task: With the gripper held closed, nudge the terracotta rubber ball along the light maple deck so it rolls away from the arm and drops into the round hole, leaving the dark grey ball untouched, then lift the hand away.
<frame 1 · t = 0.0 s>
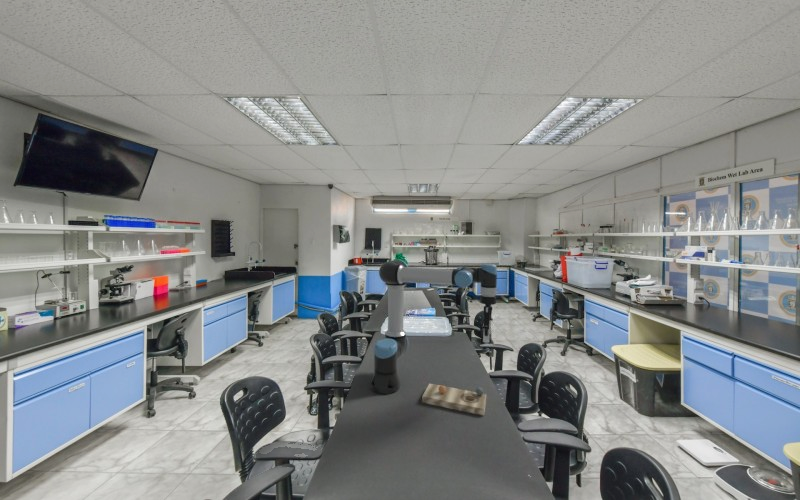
hand: (487, 337, 148), 28 cm above the lab bench, fingers open, 13 cm apart
ball: (442, 389, 143), point 5 cm above the lab bench, touching deck
deck: (454, 401, 141), on the lab bench
grey ball: (479, 391, 141), point 5 cm above the lab bench, touching deck
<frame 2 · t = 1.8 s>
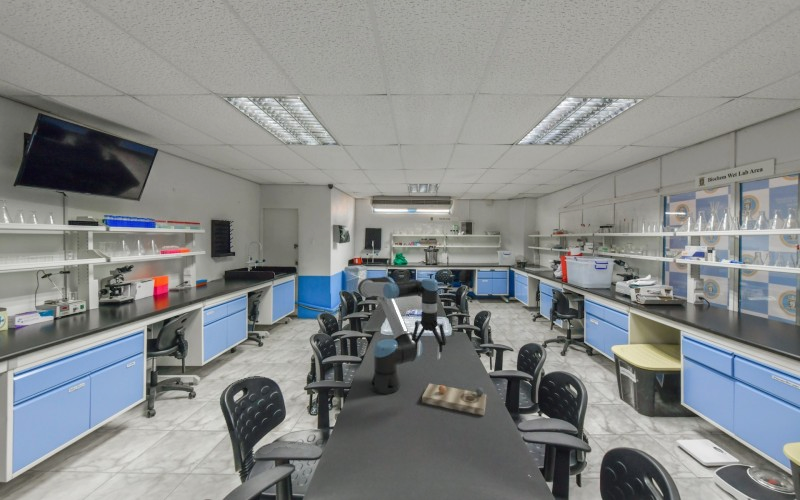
hand: (428, 356, 145), 20 cm above the lab bench, fingers open, 9 cm apart
nothing on the lab bench moved.
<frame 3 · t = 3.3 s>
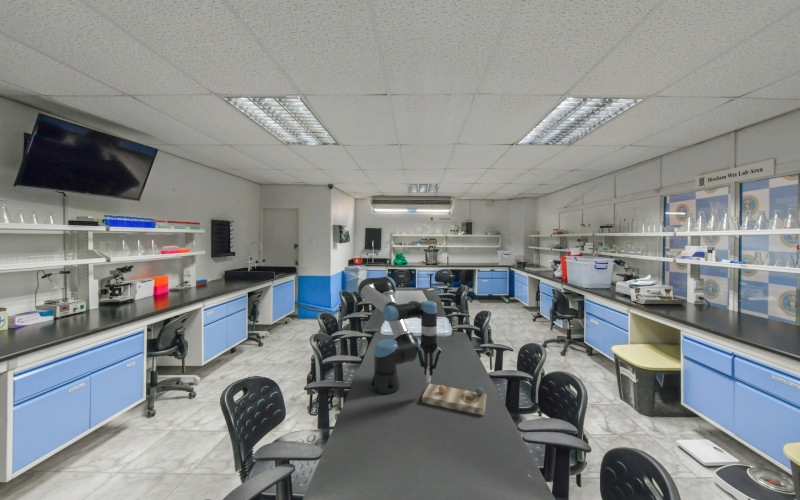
hand: (428, 381, 145), 7 cm above the lab bench, fingers closed
nothing on the lab bench moved.
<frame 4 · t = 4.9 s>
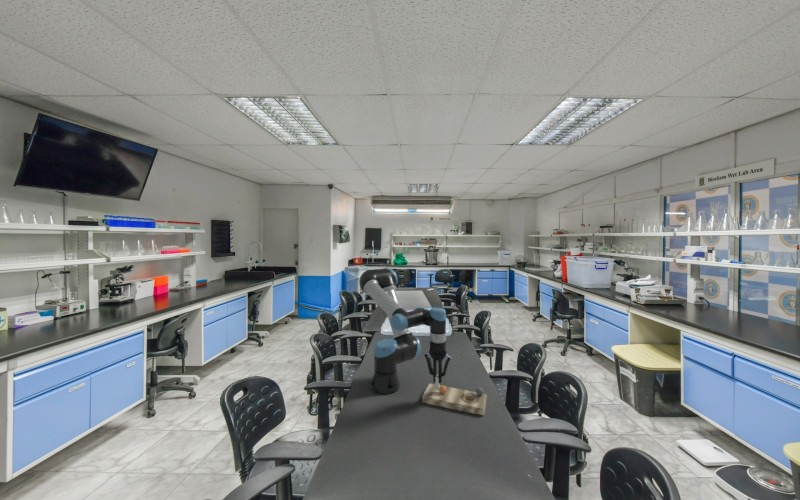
hand: (437, 389, 143), 5 cm above the lab bench, fingers closed
ball: (442, 389, 143), point 5 cm above the lab bench, tilted 6°, touching deck
everything else where it was.
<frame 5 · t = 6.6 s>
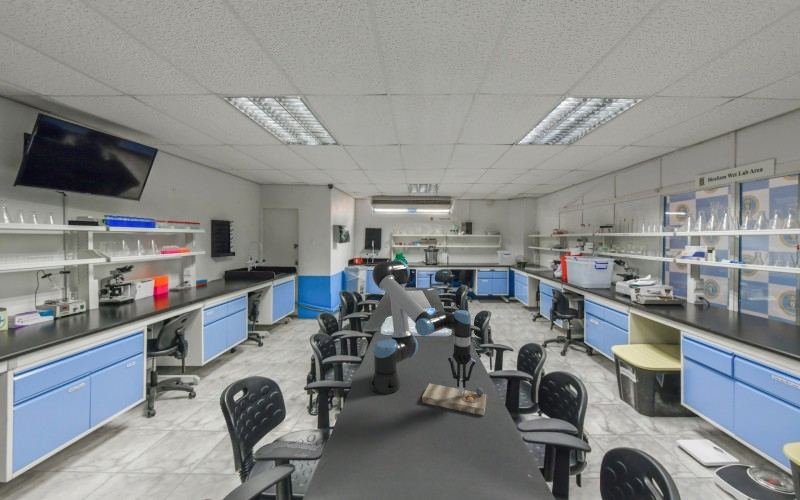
hand: (461, 393, 140), 4 cm above the lab bench, fingers closed
ball: (470, 401, 138), point 2 cm above the lab bench, tilted 125°
everything else where it was.
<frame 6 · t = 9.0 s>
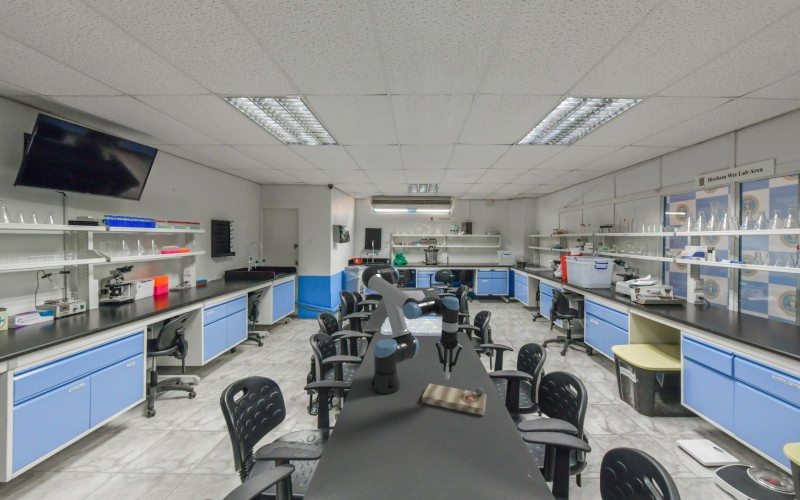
hand: (447, 378, 142), 10 cm above the lab bench, fingers closed
nothing on the lab bench moved.
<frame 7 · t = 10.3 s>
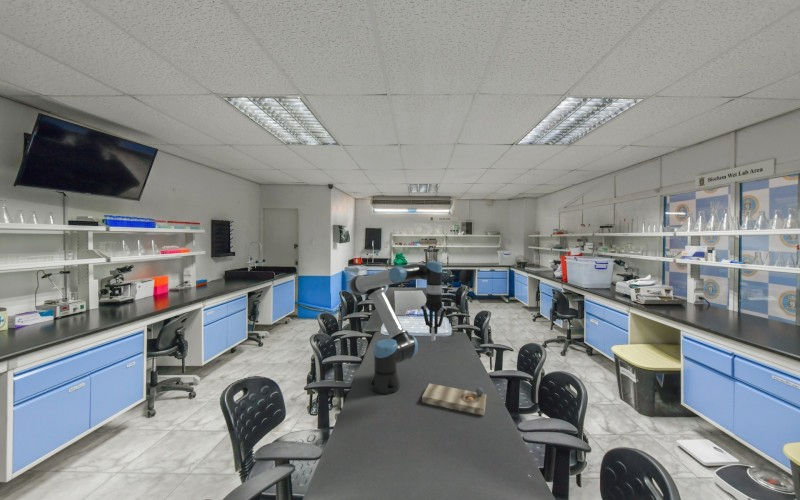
hand: (433, 339, 148), 26 cm above the lab bench, fingers closed
nothing on the lab bench moved.
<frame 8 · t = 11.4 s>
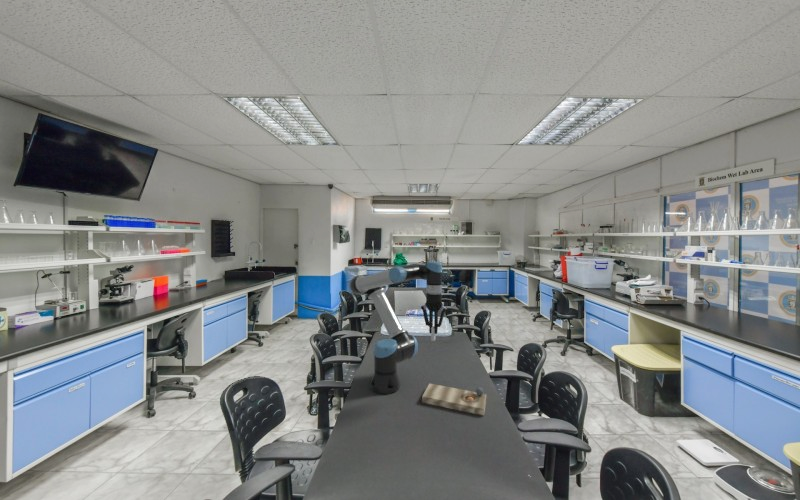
hand: (433, 339, 148), 26 cm above the lab bench, fingers closed
nothing on the lab bench moved.
at the end: ball 0.4 cm from the target spot in the deck, point 1.7 cm above the deck's base; grey ball moved 0.0 cm from its start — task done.
